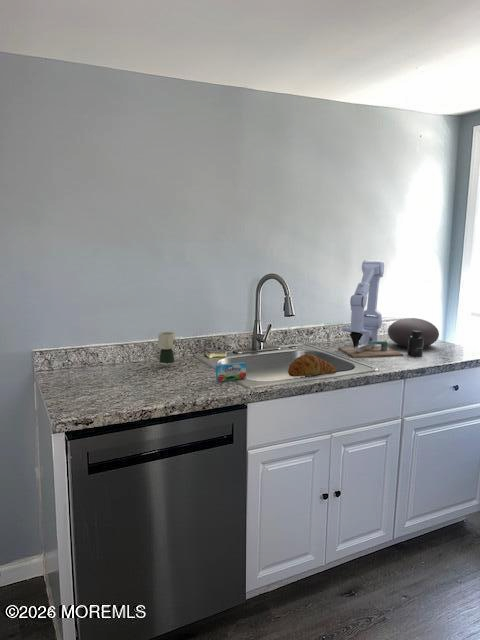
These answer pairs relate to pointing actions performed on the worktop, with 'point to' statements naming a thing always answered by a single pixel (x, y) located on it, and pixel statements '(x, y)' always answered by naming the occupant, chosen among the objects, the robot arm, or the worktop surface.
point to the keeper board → (372, 351)
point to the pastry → (310, 366)
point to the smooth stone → (404, 327)
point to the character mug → (166, 346)
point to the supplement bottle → (415, 344)
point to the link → (364, 346)
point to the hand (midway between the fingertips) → (355, 347)
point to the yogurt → (230, 371)
